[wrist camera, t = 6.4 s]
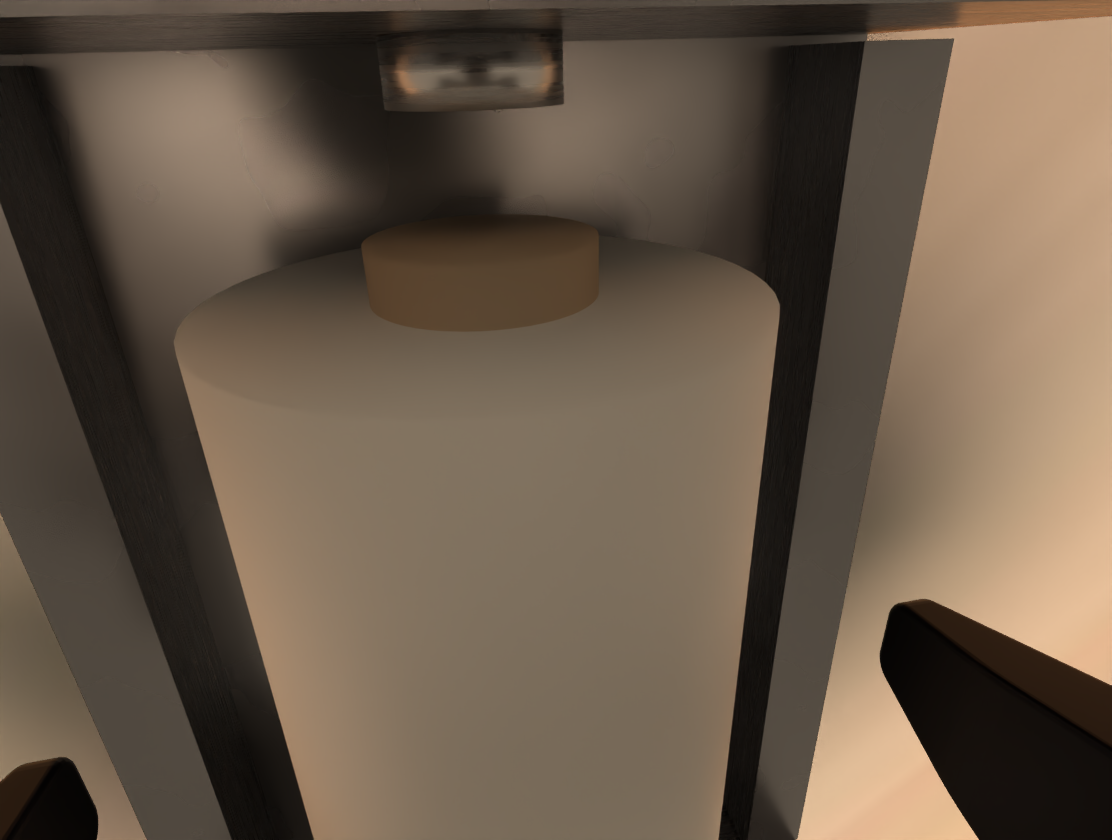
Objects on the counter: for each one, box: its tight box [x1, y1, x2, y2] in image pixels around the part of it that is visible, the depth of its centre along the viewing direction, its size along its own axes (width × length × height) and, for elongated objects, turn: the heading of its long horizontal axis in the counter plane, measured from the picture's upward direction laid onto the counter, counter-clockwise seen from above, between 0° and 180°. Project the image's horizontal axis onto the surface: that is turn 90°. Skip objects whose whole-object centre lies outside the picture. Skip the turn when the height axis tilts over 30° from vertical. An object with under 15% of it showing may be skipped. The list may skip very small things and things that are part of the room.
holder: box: [0, 0, 1112, 840], centre depth 9 cm, size 10×16×6 cm, turn 2°
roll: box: [174, 214, 780, 840], centre depth 8 cm, size 10×5×5 cm, turn 2°
